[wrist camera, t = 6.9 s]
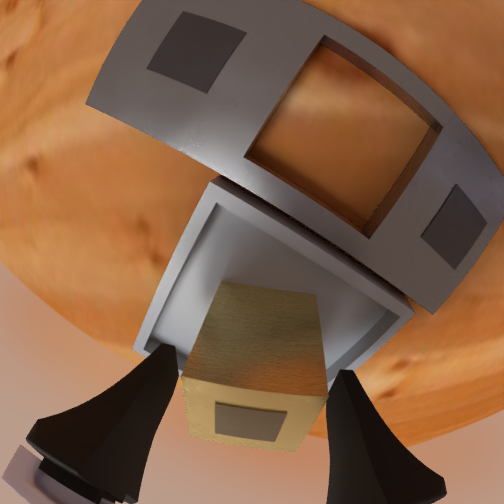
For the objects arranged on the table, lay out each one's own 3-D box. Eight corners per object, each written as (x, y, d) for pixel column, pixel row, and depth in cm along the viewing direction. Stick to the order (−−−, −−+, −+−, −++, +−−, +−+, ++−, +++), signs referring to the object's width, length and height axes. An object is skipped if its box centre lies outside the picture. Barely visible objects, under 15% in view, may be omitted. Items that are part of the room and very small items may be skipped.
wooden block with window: (316, 294, 13) (328, 398, 7) (297, 359, 15) (295, 453, 9) (221, 280, 13) (180, 377, 7) (218, 348, 15) (190, 437, 9)
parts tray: (405, 296, 13) (415, 313, 11) (287, 403, 17) (286, 420, 16) (218, 175, 11) (209, 181, 10) (142, 334, 16) (132, 349, 15)
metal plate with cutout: (502, 191, 9) (516, 196, 8) (424, 302, 13) (433, 315, 11) (179, -25, 7) (170, -36, 6) (99, 104, 10) (84, 104, 9)
